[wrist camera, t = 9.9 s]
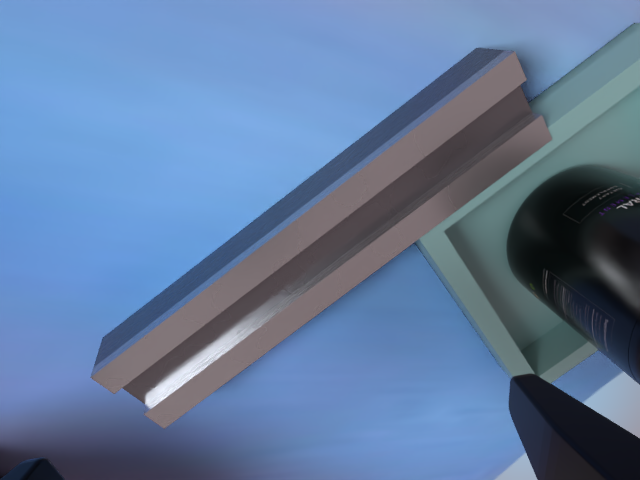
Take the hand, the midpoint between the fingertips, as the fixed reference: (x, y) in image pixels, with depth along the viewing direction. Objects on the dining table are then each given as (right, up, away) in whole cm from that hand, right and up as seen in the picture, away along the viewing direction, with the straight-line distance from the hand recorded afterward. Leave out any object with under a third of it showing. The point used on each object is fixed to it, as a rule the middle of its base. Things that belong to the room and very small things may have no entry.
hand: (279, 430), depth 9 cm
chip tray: (+13, +5, +15) cm, 20 cm away
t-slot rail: (0, +4, +12) cm, 12 cm away
